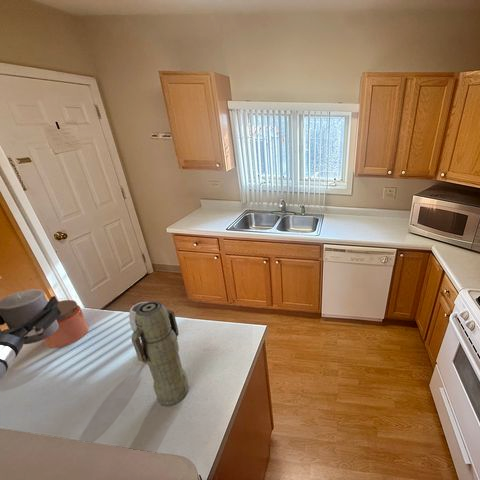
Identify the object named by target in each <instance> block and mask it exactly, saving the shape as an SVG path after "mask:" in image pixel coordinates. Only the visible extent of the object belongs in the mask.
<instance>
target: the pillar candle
mask: <svg viewBox="0 0 480 480" xmlns="http://www.w3.org/2000/svg"><path fill="white" fill-rule="evenodd" d="M48 302H49V300H48V299H47V296H46V295H45V293H44V291H43V290H42V289H37V288H32V289H25V290H21V291H17V292H14V293H11V294H9V295H7V296H5V297H3V298H2V299H0V314H1V316H2V318H3V319H4V321H5V324H6V326H7V329H12V328H15V327H17V326H19V325H20V324H22V323H26V322H28V321H29V320H31V319H32V318H34V317H35V316H37V315H38V314H40V313H41V312H43V311H44V310H45V309H44V308H45V306H46V305H47V303H48ZM23 328H24V327H23ZM58 328H59V324H58V322H57V320H55V321H54V322H53V323H52V324H51V325H50V326H49V327H48V328H47V329H46V330H45V332H44V334H43V335H41V336H37V334H36V335H32V336H30V337H29V338H28V339H26V340H25V341H24V344H23V345H30V344H31V345H32V344H35V343H39V342H40V341H43V339H45V338H47V337H49V336H50V335H52V334H53V333H55V332H56V331H57V330H58Z"/></svg>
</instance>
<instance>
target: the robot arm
mask: <svg viewBox="0 0 480 480" xmlns="http://www.w3.org/2000/svg"><path fill="white" fill-rule="evenodd" d="M58 302H59V301H58V299H57V297H56V295H53V296H51V297H50V299H49V300H48V303H47V305H46V306H45V308H44V309H45V310H44V311H43V312H41V313H40V314H38V315H37V316H35V317H34V318H32V319H31V320H29V321H28V322H26V323H22V324H20V325H19V326H17V327H15V328H12V329H9V328H6V329H1V328H0V382H1V381H2V379H3V378H4V376H5V375H6V373H7V372H8V370H9V368H10V367H11V365H12V364H13V363H14V362H15V359H16V358H17V356H18V355H19V353H20V352H21V351H22V350H23V347H24V345H25V344H24V341H25V340H26V339H28V338H29V337H30V336H32V335H36V334H37V336H41V335H43V334H44V332H45V330H46V329H47V328H48V327H49V326H50V325H51V324H52V323H53V322H54V321H55V320H56V319H57V318H58V317H59V316H60V315H61V314H62V313H61V311H60V309H59V307H58V306H57V304H58ZM5 324H6V323H5V321H4V319H3V318H2V316H1V314H0V326H3V325H5ZM23 327H24V328H23Z"/></svg>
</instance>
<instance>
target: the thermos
mask: <svg viewBox="0 0 480 480" xmlns="http://www.w3.org/2000/svg"><path fill="white" fill-rule="evenodd" d="M147 302H148V301H147ZM135 323H136V326H137V328H136V330H135V331H133V332H132V335H131V342H132V345H133V348H134V351H135V353H136V356H137V359H138V361H139V362H141V363H145V364H147V365H148V368H149V371H150V373H151V376H152V377H151V378H152V380H153V390H154V393H155V396H156V398H157V400H158V403H159V404H160V405H161V406H162V407H163V406H164V407H172V406H174V405H175V406H176V405H177V404H179V403H180V402H181V401H182V400H184V399H185V398H186V396H187V395H188V393H189V389H190V387H189V384H188V383H189V380H188V377H187V373H186V371H185V369H184V368H183V365H182V361H181V356H180V352H179V351H180V345H179V342H178V337H179V328H178V324H177V319H176V316H175V312H174V311H173V310H170V309H167V308H166V307H165V306H164V305H163V303H162V302H160V301H157V300H156V301H155V300H154V301H149V302H148V303H145V304H143V305H141V306H140V307H139V308H138V309H137V310H136V315H135Z"/></svg>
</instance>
